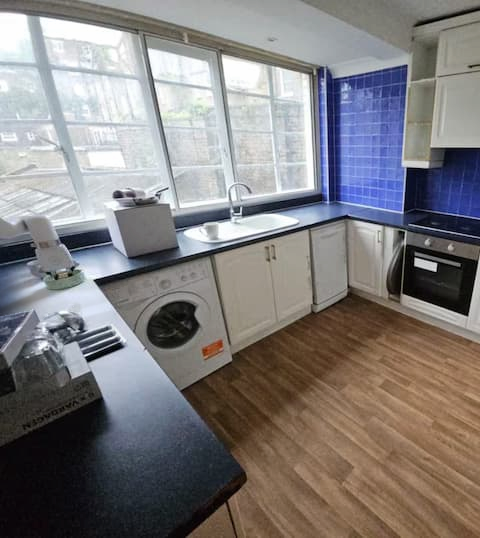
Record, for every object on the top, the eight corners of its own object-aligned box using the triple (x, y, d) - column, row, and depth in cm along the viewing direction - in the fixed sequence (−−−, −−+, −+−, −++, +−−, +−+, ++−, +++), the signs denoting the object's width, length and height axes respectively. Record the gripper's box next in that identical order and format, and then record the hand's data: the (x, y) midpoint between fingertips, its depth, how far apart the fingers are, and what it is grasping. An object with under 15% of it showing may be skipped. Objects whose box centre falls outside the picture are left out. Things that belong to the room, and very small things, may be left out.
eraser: (71, 284, 132) (67, 276, 131) (61, 286, 130) (57, 278, 129) (72, 280, 136) (68, 272, 135) (62, 282, 135) (59, 274, 133)
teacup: (41, 273, 146) (34, 258, 143) (69, 269, 150) (62, 255, 147) (25, 285, 134) (17, 268, 131) (56, 280, 138) (48, 264, 135)
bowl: (45, 293, 126) (40, 283, 124) (49, 283, 135) (45, 274, 134) (85, 284, 133) (81, 275, 132) (87, 275, 143) (83, 266, 141)
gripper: (19, 250, 118) (40, 290, 126) (73, 241, 128) (90, 279, 135) (22, 246, 124) (42, 285, 131) (74, 238, 133) (90, 274, 141)
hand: (66, 281), depth 133 cm, fingers closed on eraser, 3 cm apart
